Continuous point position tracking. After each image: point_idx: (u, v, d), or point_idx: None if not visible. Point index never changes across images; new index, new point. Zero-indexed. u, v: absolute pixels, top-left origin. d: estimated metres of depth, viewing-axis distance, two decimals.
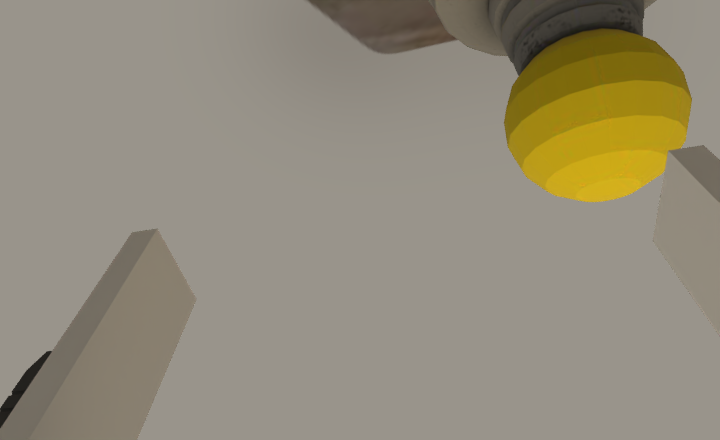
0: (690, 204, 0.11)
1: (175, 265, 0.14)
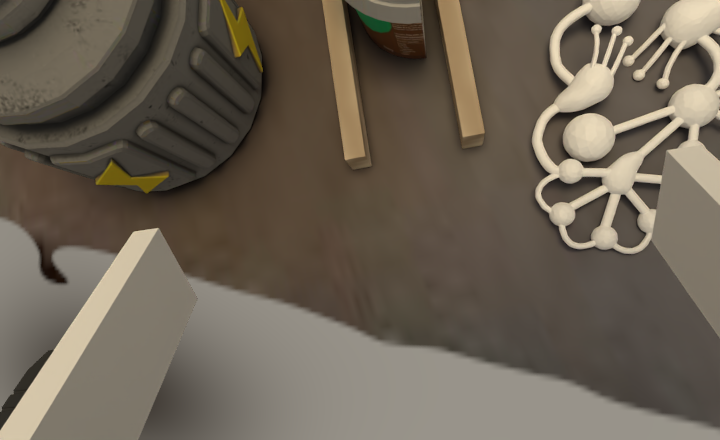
0: (688, 203, 0.11)
1: (176, 264, 0.14)
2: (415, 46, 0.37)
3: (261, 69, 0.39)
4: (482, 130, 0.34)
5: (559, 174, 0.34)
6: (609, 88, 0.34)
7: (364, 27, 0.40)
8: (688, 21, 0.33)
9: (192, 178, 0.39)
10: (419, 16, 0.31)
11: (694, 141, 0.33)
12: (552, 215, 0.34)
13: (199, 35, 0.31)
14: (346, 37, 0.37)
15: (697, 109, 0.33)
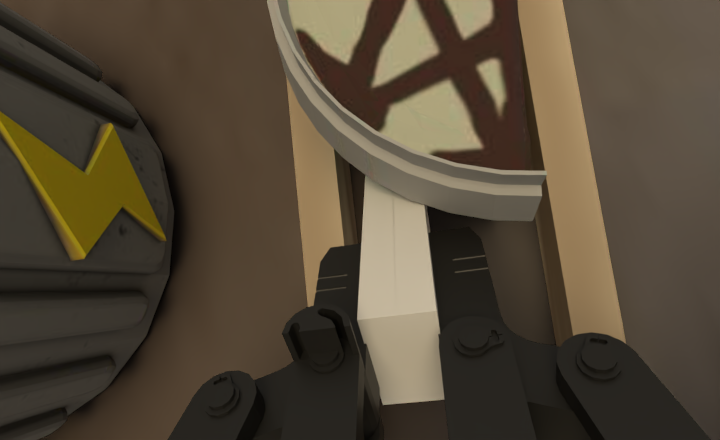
0: None
1: None
2: None
3: (162, 237, 0.19)
4: None
5: None
6: None
7: None
8: None
9: None
10: (531, 211, 0.11)
11: None
12: None
13: None
14: (336, 191, 0.18)
15: None
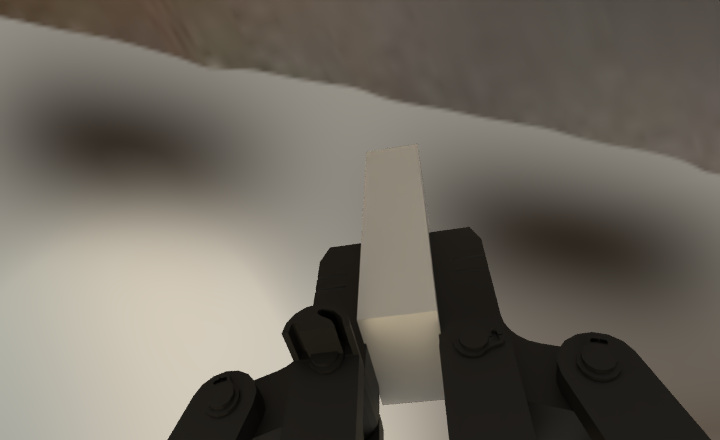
0: None
1: None
2: None
3: None
4: None
5: None
6: None
7: None
8: None
9: None
10: None
11: None
12: None
13: None
14: None
15: None
